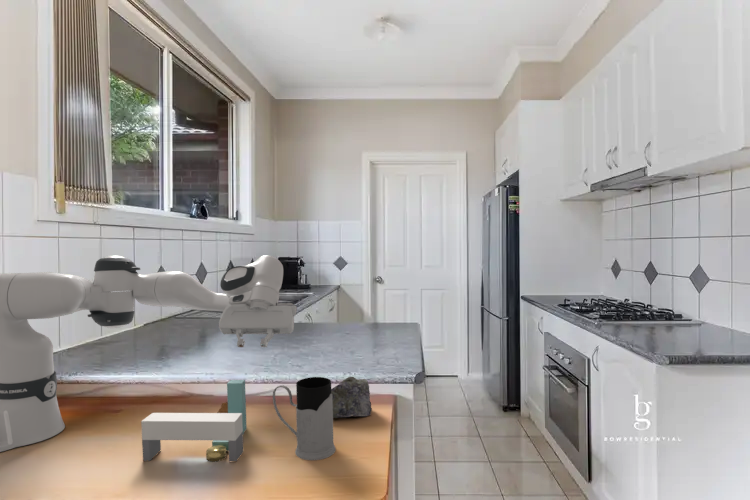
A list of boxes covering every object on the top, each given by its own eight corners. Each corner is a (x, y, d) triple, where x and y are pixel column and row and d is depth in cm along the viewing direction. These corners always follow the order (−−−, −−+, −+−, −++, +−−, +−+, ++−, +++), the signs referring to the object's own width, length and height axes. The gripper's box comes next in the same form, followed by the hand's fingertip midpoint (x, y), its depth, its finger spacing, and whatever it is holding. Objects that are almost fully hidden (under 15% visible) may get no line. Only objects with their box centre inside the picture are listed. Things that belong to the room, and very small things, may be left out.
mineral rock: (314, 420, 119) (313, 381, 118) (330, 405, 129) (329, 369, 129) (364, 425, 115) (363, 385, 115) (376, 409, 126) (375, 372, 125)
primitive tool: (222, 404, 132) (222, 392, 132) (243, 403, 133) (242, 391, 133) (205, 434, 113) (205, 419, 113) (229, 432, 114) (229, 418, 114)
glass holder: (326, 462, 97) (325, 390, 97) (264, 454, 101) (262, 385, 101) (341, 443, 106) (339, 377, 105) (283, 437, 110) (281, 373, 109)
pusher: (212, 450, 104) (210, 396, 103) (231, 428, 115) (229, 379, 114) (230, 451, 103) (228, 396, 103) (247, 428, 115) (246, 379, 114)
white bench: (143, 460, 100) (141, 421, 99) (154, 450, 104) (152, 412, 104) (236, 461, 98) (234, 421, 98) (243, 451, 103) (242, 413, 103)
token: (203, 462, 99) (203, 454, 99) (211, 453, 103) (210, 445, 103) (222, 462, 99) (221, 454, 99) (229, 453, 103) (228, 445, 103)
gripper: (299, 309, 136) (292, 352, 127) (230, 310, 137) (218, 352, 128) (295, 296, 132) (288, 339, 122) (223, 297, 133) (211, 340, 124)
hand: (251, 346), depth 125 cm, fingers open, 5 cm apart
